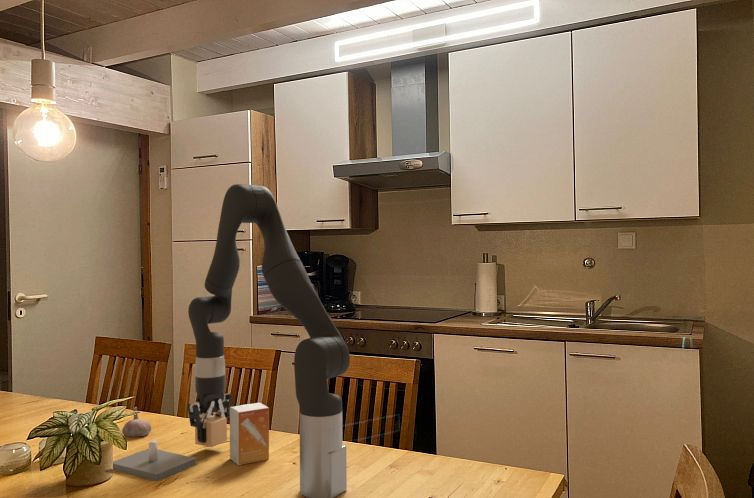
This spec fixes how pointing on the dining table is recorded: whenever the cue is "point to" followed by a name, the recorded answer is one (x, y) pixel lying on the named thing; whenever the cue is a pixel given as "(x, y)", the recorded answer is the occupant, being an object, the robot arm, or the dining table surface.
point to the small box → (249, 433)
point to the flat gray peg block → (153, 463)
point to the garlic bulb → (136, 427)
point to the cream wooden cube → (214, 431)
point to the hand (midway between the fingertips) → (211, 438)
